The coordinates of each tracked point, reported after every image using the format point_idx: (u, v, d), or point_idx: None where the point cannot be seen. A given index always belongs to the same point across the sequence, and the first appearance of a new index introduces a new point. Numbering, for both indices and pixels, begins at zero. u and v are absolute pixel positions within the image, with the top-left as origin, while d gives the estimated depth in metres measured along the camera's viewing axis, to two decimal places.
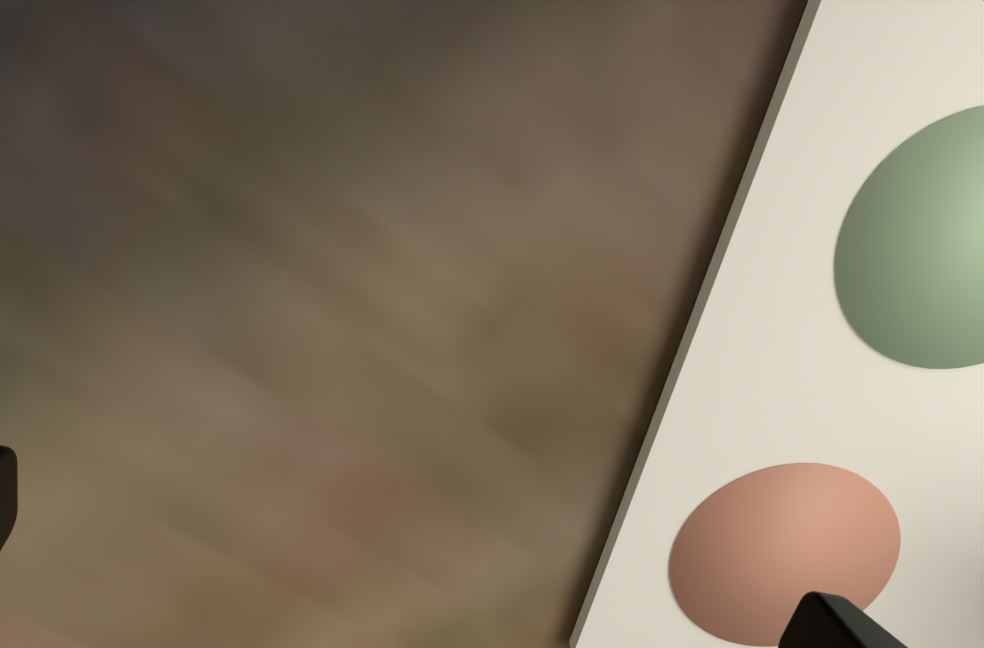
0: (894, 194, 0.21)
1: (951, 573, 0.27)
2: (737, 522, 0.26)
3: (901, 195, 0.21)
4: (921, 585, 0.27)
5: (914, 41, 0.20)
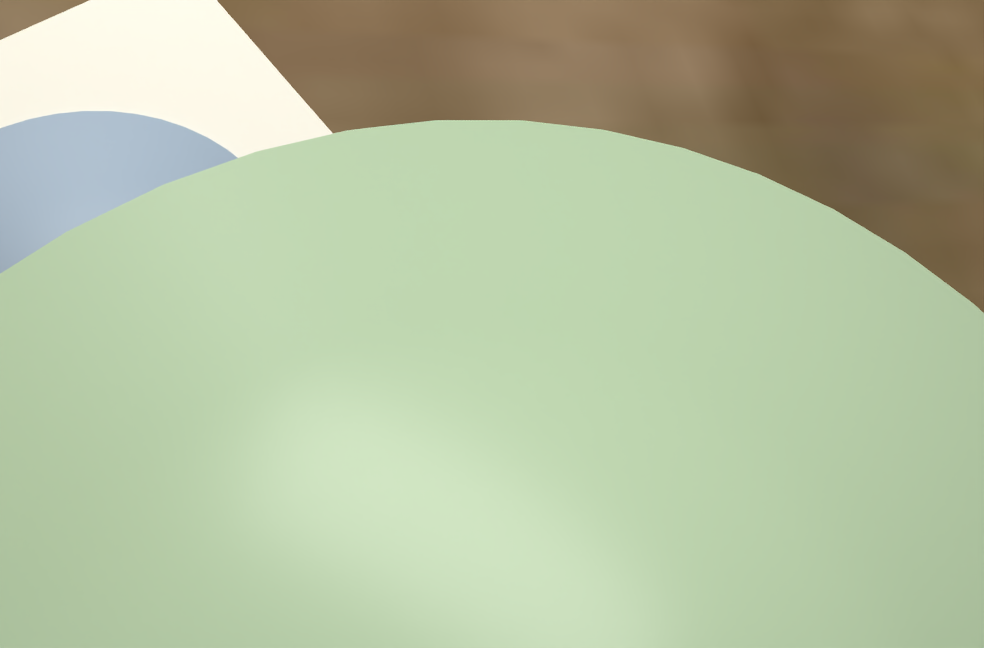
0: None
1: None
2: None
3: None
4: None
5: None
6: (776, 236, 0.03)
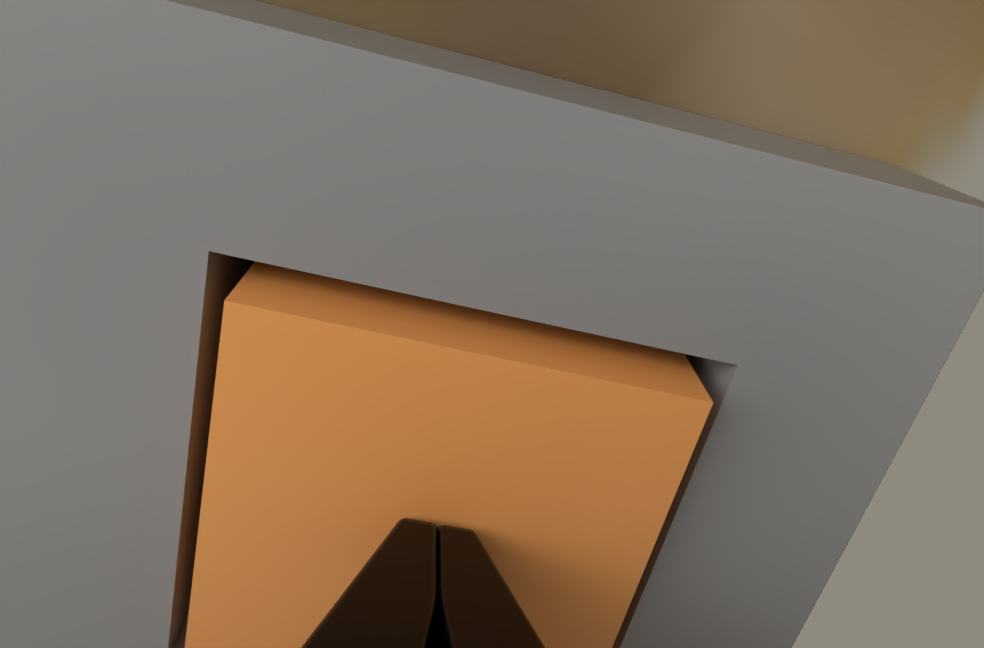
0: None
1: None
2: None
3: None
4: None
5: None
6: None
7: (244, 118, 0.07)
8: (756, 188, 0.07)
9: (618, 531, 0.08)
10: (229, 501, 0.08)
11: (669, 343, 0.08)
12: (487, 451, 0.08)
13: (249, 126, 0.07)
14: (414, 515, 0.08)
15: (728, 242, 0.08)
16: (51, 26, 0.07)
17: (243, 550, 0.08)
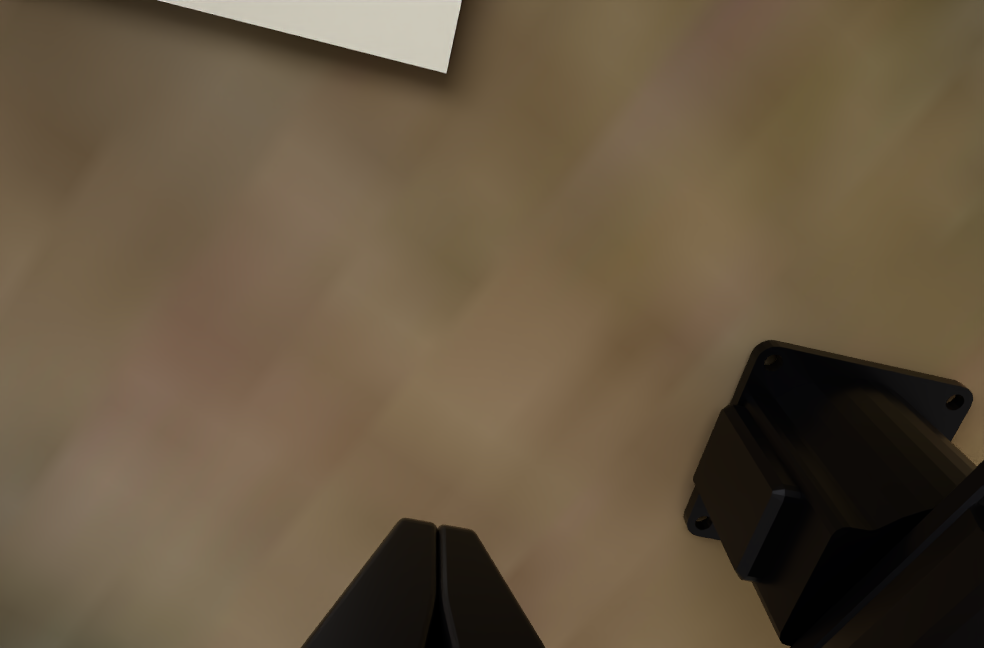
0: None
1: None
2: None
3: None
4: None
5: None
6: None
7: None
8: None
9: None
10: None
11: None
12: None
13: None
14: None
15: None
16: None
17: None
